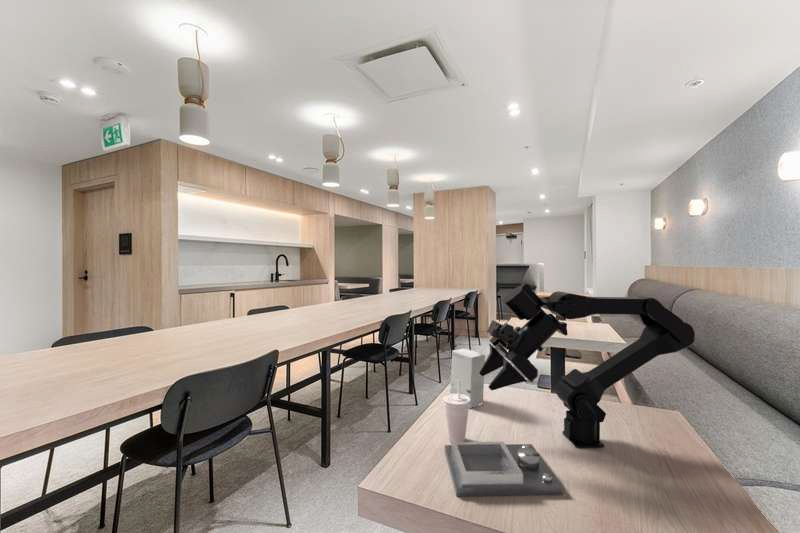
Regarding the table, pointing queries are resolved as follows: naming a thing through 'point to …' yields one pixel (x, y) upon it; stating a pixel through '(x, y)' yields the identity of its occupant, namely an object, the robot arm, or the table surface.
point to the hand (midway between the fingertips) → (485, 381)
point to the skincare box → (468, 375)
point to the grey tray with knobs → (499, 470)
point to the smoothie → (456, 415)
